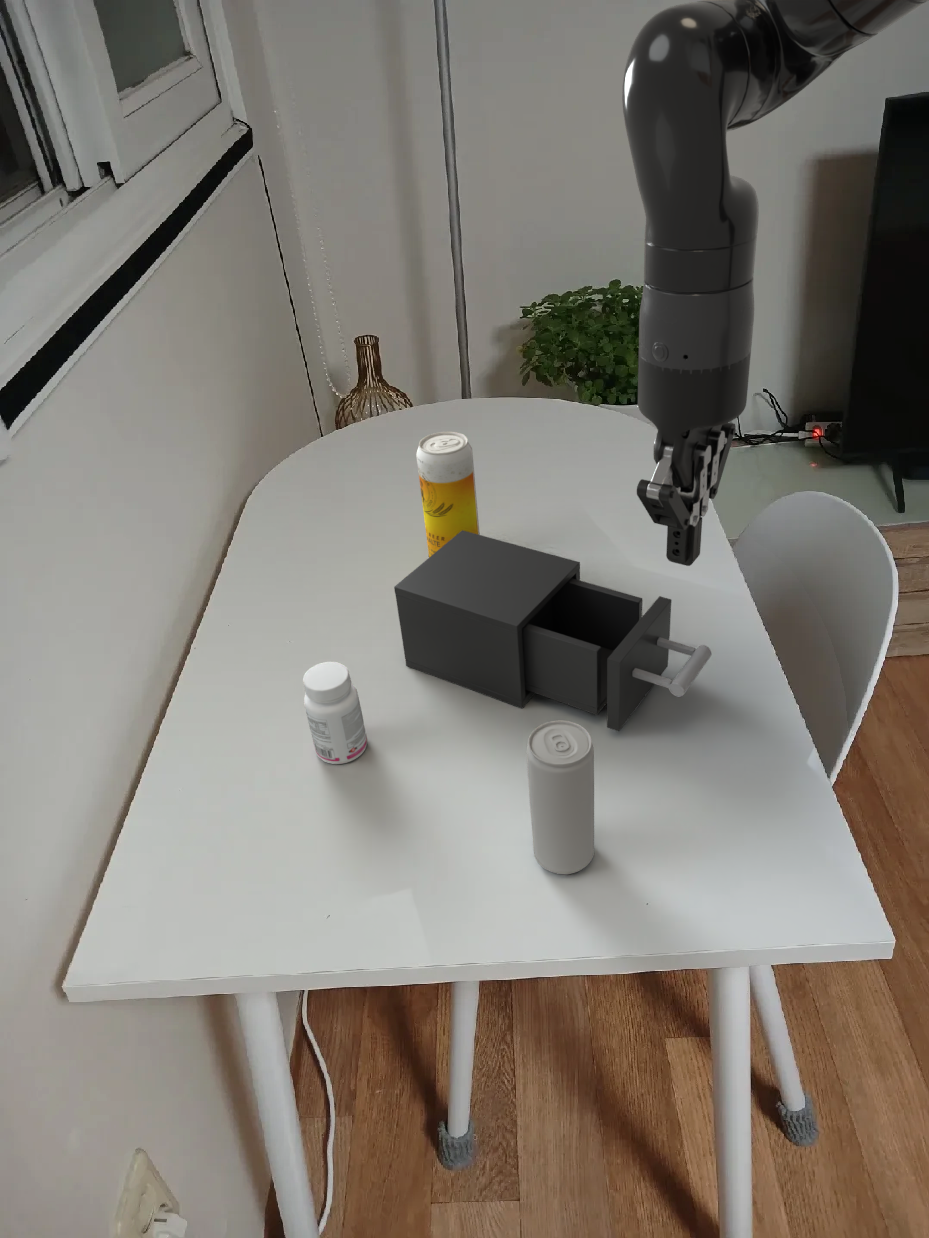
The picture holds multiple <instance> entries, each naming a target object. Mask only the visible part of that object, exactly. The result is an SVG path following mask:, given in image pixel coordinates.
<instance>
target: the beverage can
mask: <svg viewBox="0 0 929 1238" xmlns="http://www.w3.org/2000/svg"><path fill="white" fill-rule="evenodd" d="M526 764H527V765H526V766H527V781H528V798H529V811H530V823H531V832H532V833H531V835H532V836H531V837H532V850H533V857H534V859H535V860H536V862H537V864H538V865H540V866H541V867H542V868H543V869H544V870H547V871H549V872H551V873H553V874H558V875H570V874H575V873H577V872H580V871H582V870H583V869H585V868H586V867H587V866H589V864H590V863H591V862H592V860H593V858H594V855H595V747H594V744H593V739H592V736H591V734H590V732H588V730H587V729H586V728H585V727H583V726H582V725H580V724H578V723H576V722H574V721H569V720H558V719H557V720H551V721H547V722H544V723H542V724H540V725H538V726H537V727H536V728H534V729H533V730H532V731H531V733H530V734H529V736H528V739H527V744H526Z"/></svg>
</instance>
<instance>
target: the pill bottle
mask: <svg viewBox="0 0 929 1238" xmlns="http://www.w3.org/2000/svg"><path fill="white" fill-rule="evenodd" d="M302 683H303V688H304V692H305V694H304V696H303V697H304V698H303V705H304V710H305V715H306V718H307V724H308V726H309V727H308V728H309V730H310V734H311V738H312V742H313V746H314V750H315V753H316V755H317V757H318V758H319V759H320V760H321V761H323V762H324V763H327V764H332V765H340V764H347V763H350V762H353V761H354V760H356V759H358V758H359V757H360V756H361V755H362V754H363V753H364V752H365V750H366V748H367V744H368V737H367V732H366V726H365V722H364V715H363V711H362V706H361V702H360V697H359V693H358V689H357V688H356V686H355V685H354V683H352V678H351V675H350V671H349V669H348V667H347V666H346V665H344V664H342V663H340V662H337V661H324V662H320V663H317V664H314V665H313V666H311V667H310V668H308V670H306V672H305V673H304V674H303V677H302Z"/></svg>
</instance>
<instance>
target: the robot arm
mask: <svg viewBox="0 0 929 1238" xmlns="http://www.w3.org/2000/svg"><path fill="white" fill-rule="evenodd" d="M928 1H929V0H697V1H693V2H692V1H691V2H686V3H685V2H684V3H681V4H675V5H672V6H669V7H667V8H665V9H663V10H660V11H658V12H657V13H655V14H653V16H652V17H650V18H649V19H648V20H647V21H646V22H645V24H643V26H642V27H641V28H640V30H639V31H638V33H637V35H636V37H635V38H634V40H633V43H632V44H631V47H630V51H629V53H628V57H627V58H626V63H625V68H624V74H623V80H622V97H621V99H622V101H621V102H622V113H623V119H624V120H623V121H624V126H625V130H626V137H627V140H628V141H627V142H628V145H629V149H630V155H631V159H632V164H633V169H634V175H635V180H636V183H637V188H638V192H639V195H640V199H641V202H642V205H643V210H644V214H645V224H644V225H645V227H644V248H643V249H644V254H643V255H644V256H643V261H644V262H643V286H642V287H643V288H642V295H641V301H640V307H639V318H638V326H639V327H638V361H637V362H638V369H637V370H638V372H637V408H638V411H639V412H640V414H642V416H643V417H644V418H645V419H647V420H649V421H650V422H651V423H652V424H653V425H654V426H655V428H656V429H657V433H656V437H655V439H654V443H653V454H652V455H653V460H654V462H655V465H656V468H655V470H654V472H653V475H652V478H651V480H648V479H643V478H642V479H640V480H639V481H638V483H637V486H636V495H637V498H638V499H639V501H640V502H641V504H642V506H643V507H644V509H645V511H646V512H647V514H648V515H649V517H650V519H651V520H652V522H653V524H657V525H661V526H665V527H667V532H666V555H665V556H666V559H667V560H668V561H669V562H671V563H674V564H679V565H682V566H686V567H690V566H692V565H693V564H694V563H695V561H696V560H697V559H698V557H700V555H701V546H702V545H701V544H702V530H703V517H705V516H706V515H707V513H708V510H709V500H710V499H711V500H714V499H715V498H716V495H717V494H718V492H719V486H720V483H721V479H722V477H723V473H724V469H725V466H726V464H727V460H728V456H729V453H730V450H731V447H732V443H733V440H734V437H735V434H736V424H735V423H733V422H732V421H734V420H735V419H737V418H739V416H740V415H742V414H743V412H744V411H745V409H746V407H747V400H748V390H749V378H750V366H751V354H752V343H753V334H754V333H753V332H754V321H755V296H754V273H755V262H756V250H757V239H758V227H759V199H758V195H757V191H756V189H755V188H754V187H753V185H752V184H751V183H750V182H749V181H748V180H745V179H743V178H741V177H739V176H735V175H731V174H730V173H731V172H730V164H729V156H728V146H727V133H728V132H731V131H734V130H737V129H740V128H743V127H747V126H748V125H750V124H752V123H754V122H757V121H759V120H760V119H762V118H764V117H765V116H767V115H769V114H770V113H772V112H774V111H775V110H776V109H778V108H780V107H781V106H782V105H784V104H786V103H787V102H788V101H790V100H791V99H792V98H794V97H795V96H796V95H798V94H799V93H800V92H801V91H803V90H804V89H805V88H806V87H808V86H809V85H810V84H811V83H812V82H814V81H816V79H817V78H818V77H820V76H821V75H823V73H825V72H826V71H827V70H828V69H829V68H830V67H832V65H834V64H835V63H836V62H837V61H838V60H839V59H840V58H841V57H842V56H843V55H844V54H846V53H847V52H849V51H850V50H852V49H854V48H856V47H858V46H860V45H861V44H863V43H865V42H867V41H869V40H870V39H871V38H874V37H875V36H877V35H878V34H879V33H881V32H883V31H884V30H886V29H887V28H889V27H890V26H892V25H893V24H895V23H897V22H898V21H900V20H901V19H902V18H905V17H906V16H907V15H909V14H911V13H913V12H914V11H915V10H917V9H918V8H919V7H922V6H923V5H924V4H926V3H928Z"/></svg>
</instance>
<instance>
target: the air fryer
mask: <svg viewBox="0 0 929 1238" xmlns="http://www.w3.org/2000/svg"><path fill="white" fill-rule="evenodd" d="M571 578H573V579H576V580H580V581H581V562H580V561H577V560H574V559H570V558H566V557H563V556H559V555H556V554H552V553H548V552H544V551H541V550H536V549H533V548H529V547H526V546H522V545H518V544H515V543H511V542H508V541H503V540H500V539H496V538H493V537H489V536H485V535H481V534H480V535H478V534H474V533H471V532H467V531H463V530H462V531H461V532H459V533H458V534H457V535H456V536H455V537H453V538H452V539H451V540H450V541H449V542H447V543H446V544H445V545H444V546H443V547H441V548H440V549H439V550H438V551H437V552H435V553H434V554H433V555H432V556H431V557H429V556H428V558H426V560H424V561H423V562H422V563H421V564H419V565H418V566H417V567H416V568H415V569H414V570H412V571H411V572H410V573H408V575H406V576H405V577H404V578H403V579H402V580H401V581H399V582H398V583H396V585H394V586H393V587H394V594H395V595H394V596H395V601H396V607H397V615H398V620H399V627H400V633H401V640H402V647H403V654H404V659H405V661H404V662H405V666H407V667H409V668H411V669H414V670H416V671H419V672H422V673H425V674H428V675H430V676H433V677H435V678H437V679H440V680H444V681H447V682H449V683H451V684H455V685H457V686H460V687H462V688H465V689H468V690H470V691H473V692H476V693H479V694H482V695H484V696H487V697H490V698H493V699H495V700H498V701H501V702H503V703H507V704H508V705H512V706H514V707H517V708H519V709H523V708H524V707H525V706H526V704H528V703H529V701H530V700H531V699H532V698H533V697H534V696H535V694H536V693H534V692H531V691H528V690H525V678H524V661H523V644H522V628H523V627H524V626H525V625H526V624H527V623H528V622H529V621H530V620H531V619H532V618H533V617H534V616H535V615H536V614H537V613H538V612H539V610H540V609H541V608H542V607H543V606H544V605H545V604H546V603H547V602H548V601H549V600H550V599H551V598H552V597H553V596H554V595H555V594H556V593H557V592H558V591H559V590H560V589H561V588H562V587H563V586H564V585H565V584H566V583H567V582H568V581H569V580H570V579H571Z"/></svg>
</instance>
